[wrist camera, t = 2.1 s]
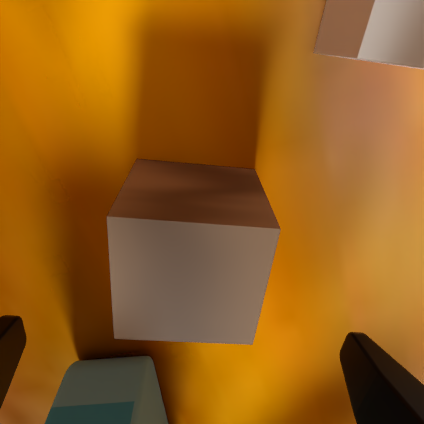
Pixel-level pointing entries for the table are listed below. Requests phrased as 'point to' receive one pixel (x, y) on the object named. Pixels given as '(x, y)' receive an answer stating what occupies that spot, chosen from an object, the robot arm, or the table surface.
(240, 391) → the table surface
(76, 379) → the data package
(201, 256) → the grey cube
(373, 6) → the grey block
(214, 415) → the table surface
